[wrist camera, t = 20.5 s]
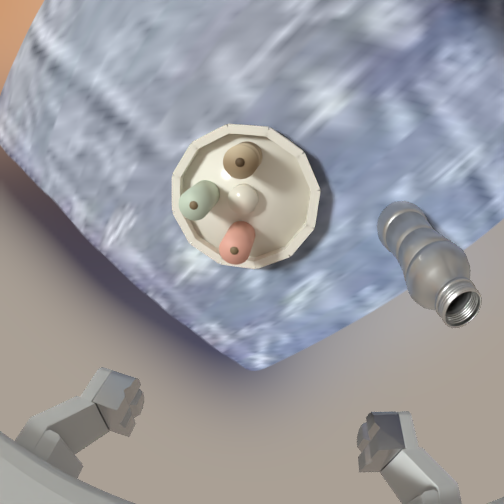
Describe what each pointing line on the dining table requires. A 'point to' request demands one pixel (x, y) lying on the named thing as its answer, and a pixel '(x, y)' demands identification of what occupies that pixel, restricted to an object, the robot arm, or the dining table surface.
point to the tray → (250, 194)
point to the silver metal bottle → (429, 264)
